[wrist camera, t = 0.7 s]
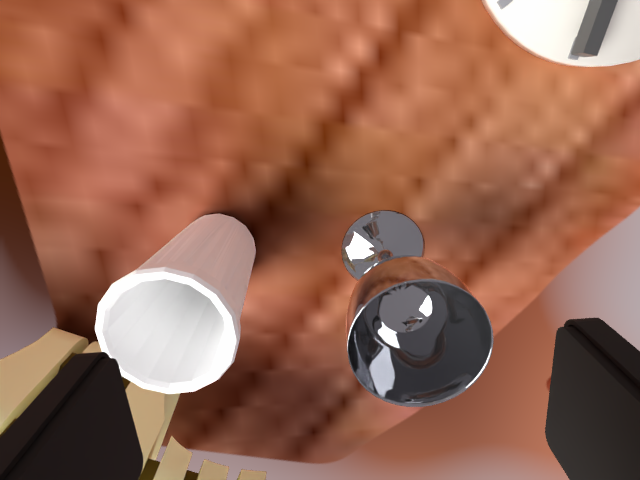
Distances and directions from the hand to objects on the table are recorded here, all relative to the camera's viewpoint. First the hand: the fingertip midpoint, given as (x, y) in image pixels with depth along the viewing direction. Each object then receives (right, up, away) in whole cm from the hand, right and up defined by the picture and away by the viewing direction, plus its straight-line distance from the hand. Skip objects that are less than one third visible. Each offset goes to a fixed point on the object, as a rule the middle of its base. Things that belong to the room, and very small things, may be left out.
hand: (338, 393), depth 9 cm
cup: (-9, +3, +29) cm, 30 cm away
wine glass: (+5, +2, +29) cm, 29 cm away
